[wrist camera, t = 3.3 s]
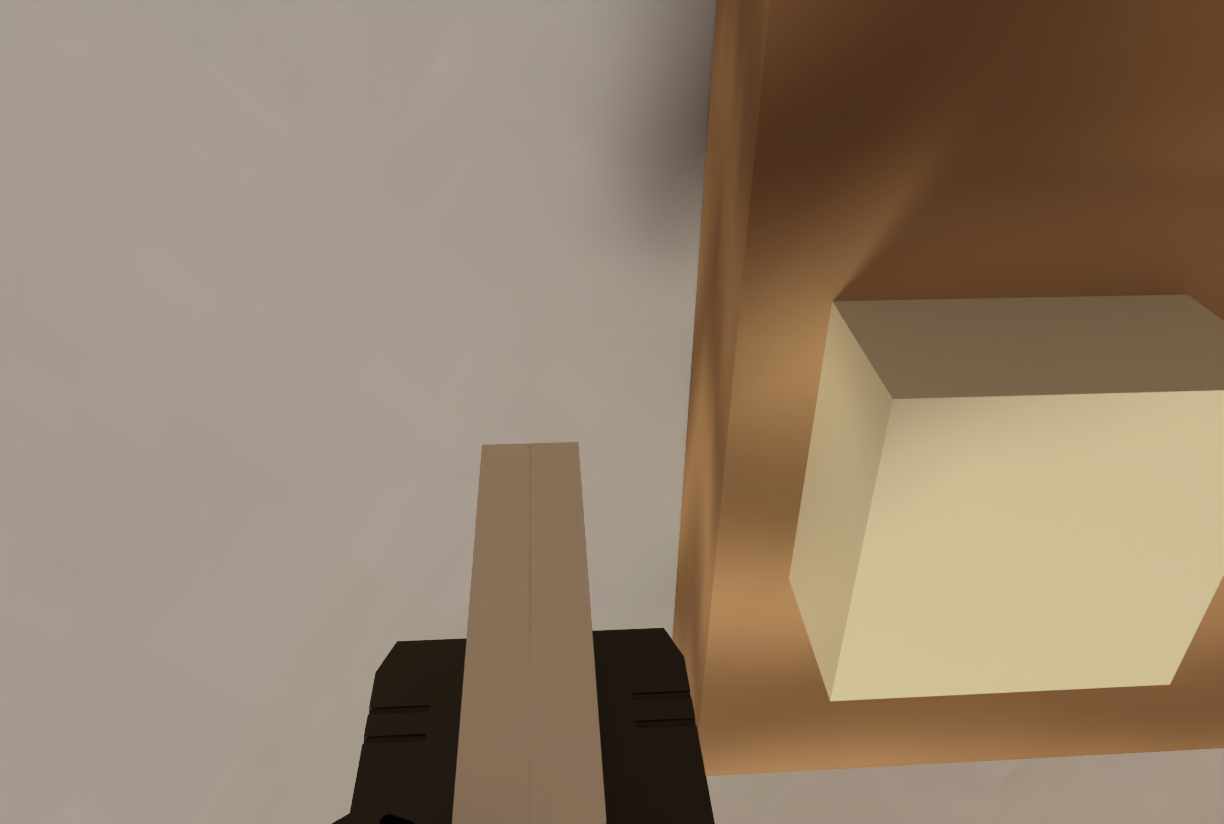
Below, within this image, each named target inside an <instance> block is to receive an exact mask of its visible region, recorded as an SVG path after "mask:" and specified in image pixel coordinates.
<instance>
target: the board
mask: <svg viewBox="0 0 1224 824" xmlns="http://www.w3.org/2000/svg"><path fill="white" fill-rule="evenodd" d="M1187 294H1188V295H1189V296H1190V297H1192V298H1193V299H1194V300H1196V301H1197V302H1199V303H1200V304H1201V305H1203V306H1204V307H1205V308H1207V309H1208V310H1210V311H1211V312H1212V313H1214V314H1215V315H1216V316H1218V317H1219V318H1220V319H1222V320H1223V321H1224V0H717V4H716V18H715V33H714V47H713V62H712V76H711V91H710V105H709V120H708V134H707V149H706V163H705V178H704V192H703V207H702V221H701V236H700V250H699V265H698V279H697V294H696V308H695V323H694V337H693V352H692V366H691V381H690V395H689V410H688V424H687V439H686V453H685V468H684V482H683V497H682V511H681V526H680V540H679V555H678V569H677V584H676V598H675V613H674V627H673V642H674V643H675V644H676V646H677V647H678V649H679V650H680V651H681V653H682V654H683V656H684V658H685V663H686V669H687V674H688V680H689V685H690V695H691V697H692V702H693V708H694V713H695V722H696V725H697V730H698V735H699V741H700V746H701V752H702V757H703V763H704V768H705V774H706V776H716V775H735V774H753V773H772V772H790V771H809V770H827V769H845V768H864V767H882V766H901V765H919V764H937V763H956V762H974V761H993V760H1011V759H1029V758H1048V757H1066V756H1085V755H1103V754H1122V753H1140V752H1158V751H1177V750H1195V749H1214V748H1224V576H1223V578H1222V580H1221V582H1220V584H1219V586H1218V588H1217V590H1216V592H1215V594H1214V596H1213V598H1212V600H1211V602H1210V604H1209V606H1208V608H1207V610H1206V612H1205V614H1204V616H1203V618H1202V620H1201V622H1200V624H1199V626H1198V629H1197V631H1196V633H1195V635H1194V637H1193V639H1192V641H1191V643H1190V645H1189V647H1188V649H1187V651H1186V653H1185V655H1184V657H1183V659H1182V661H1181V663H1180V665H1179V667H1178V669H1177V671H1176V673H1175V675H1174V677H1173V679H1172V681H1171V684H1170V685H1151V686H1131V687H1110V688H1090V689H1070V690H1049V691H1029V692H1009V693H988V694H968V695H948V696H927V697H907V698H887V699H867V700H846V701H830V699H829V696H828V693H827V690H826V687H825V684H824V681H823V678H822V676H821V673H820V670H819V667H818V664H817V661H816V658H815V655H814V652H813V649H812V646H811V643H810V640H809V637H808V634H807V631H806V628H805V625H804V622H803V619H802V616H801V613H800V610H799V607H798V604H797V601H796V598H795V595H794V592H793V590H792V587H791V584H790V581H789V576H790V569H791V563H792V556H793V550H794V544H795V537H796V531H797V524H798V518H799V511H800V505H801V499H802V492H803V486H804V479H805V473H806V467H807V460H808V454H809V447H810V441H811V434H812V428H813V422H814V415H815V409H816V402H817V396H818V389H819V383H820V377H821V370H822V364H823V357H824V351H825V345H826V338H827V332H828V325H829V319H830V312H831V306H832V301H876V300H928V299H980V298H1032V297H1084V296H1136V295H1187Z"/></svg>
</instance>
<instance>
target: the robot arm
mask: <svg viewBox="0 0 1224 824" xmlns="http://www.w3.org/2000/svg"><path fill="white" fill-rule="evenodd" d="M332 824H715V823H714V818H713V812H712V807H711V801H710V796H709V790H708V785H707V779H706V774H705V768H704V763H703V757H702V752H701V746H700V741H699V735H698V730H697V725H696V722H695V713H694V708H693V702H692V697H691V695H690V685H689V680H688V674H687V669H686V663H685V658H684V656H683V654H682V653H681V651H680V650H679V649H678V647H677V646H676V644H675V643H674V642H673V640H672V639H671V638H670V636H669V635H668V633H667V632H666V631H665V629H664V628H650V629H627V630H603V631H592V621H591V607H590V594H589V580H588V567H587V553H586V540H585V526H584V513H583V499H582V486H581V472H580V459H579V445H578V442H567V443H532V444H496V445H482V452H481V465H480V477H479V490H478V503H477V515H476V528H475V540H474V553H473V565H472V578H471V590H470V603H469V616H468V628H467V639H444V640H421V641H398V642H397V643H396V644H395V645H394V647H393V648H392V650H391V651H390V653H389V654H388V656H387V657H386V658H385V660H384V661H383V663H382V664H381V666H380V667H379V669H378V670H377V671H376V673H375V679H374V684H373V690H372V695H371V701H370V706H369V715H368V717H367V723H366V728H365V734H364V744H363V745H362V750H361V755H360V761H359V766H358V772H357V777H356V783H355V788H354V794H353V799H352V805H351V810H350V813H349V814H348V815H346V816H344V817H342V818H341V819H339V820H337V821H336V822H334V823H332Z"/></svg>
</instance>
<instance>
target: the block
mask: <svg viewBox="0 0 1224 824" xmlns="http://www.w3.org/2000/svg"><path fill="white" fill-rule="evenodd" d="M1223 576H1224V321H1223V320H1222V319H1220V318H1219V317H1218V316H1216V315H1215V314H1214V313H1212V312H1211V311H1210V310H1208V309H1207V308H1205V307H1204V306H1203V305H1201V304H1200V303H1199V302H1197V301H1196V300H1194V299H1193V298H1192V297H1190V296H1189V295H1188V294H1187V295H1136V296H1084V297H1032V298H980V299H928V300H876V301H832V306H831V312H830V319H829V325H828V332H827V338H826V345H825V351H824V357H823V364H822V370H821V377H820V383H819V389H818V396H817V402H816V409H815V415H814V422H813V428H812V434H811V441H810V447H809V454H808V460H807V467H806V473H805V479H804V486H803V492H802V499H801V505H800V511H799V518H798V524H797V531H796V537H795V544H794V550H793V556H792V563H791V569H790V576H789V581H790V584H791V587H792V590H793V592H794V595H795V598H796V601H797V604H798V607H799V610H800V613H801V616H802V619H803V622H804V625H805V628H806V631H807V634H808V637H809V640H810V643H811V646H812V649H813V652H814V655H815V658H816V661H817V664H818V667H819V670H820V673H821V676H822V678H823V681H824V684H825V687H826V690H827V693H828V696H829V699H830V701H846V700H867V699H887V698H907V697H927V696H948V695H968V694H988V693H1009V692H1029V691H1049V690H1070V689H1090V688H1110V687H1131V686H1151V685H1170V684H1171V681H1172V679H1173V677H1174V675H1175V673H1176V671H1177V669H1178V667H1179V665H1180V663H1181V661H1182V659H1183V657H1184V655H1185V653H1186V651H1187V649H1188V647H1189V645H1190V643H1191V641H1192V639H1193V637H1194V635H1195V633H1196V631H1197V629H1198V626H1199V624H1200V622H1201V620H1202V618H1203V616H1204V614H1205V612H1206V610H1207V608H1208V606H1209V604H1210V602H1211V600H1212V598H1213V596H1214V594H1215V592H1216V590H1217V588H1218V586H1219V584H1220V582H1221V580H1222V578H1223Z"/></svg>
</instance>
